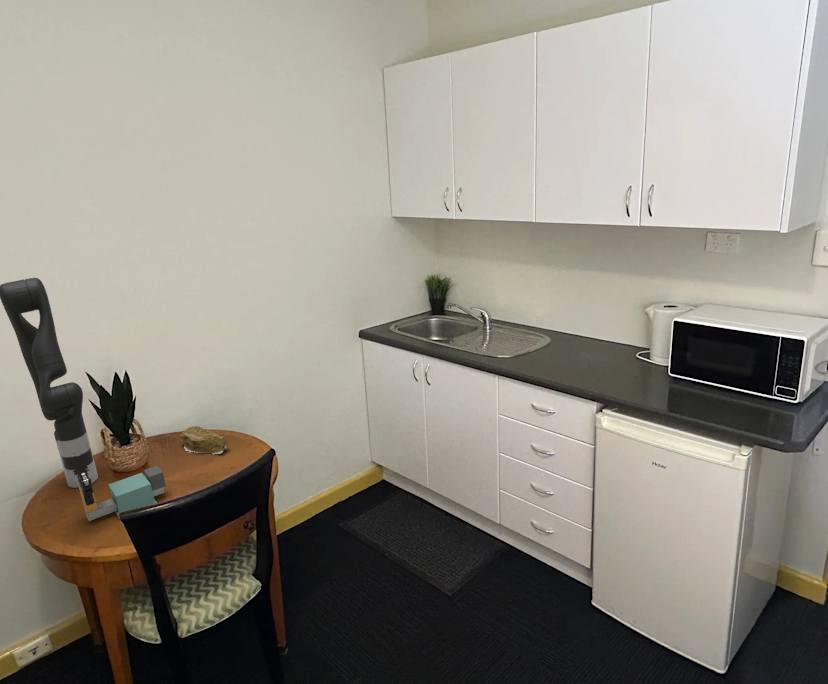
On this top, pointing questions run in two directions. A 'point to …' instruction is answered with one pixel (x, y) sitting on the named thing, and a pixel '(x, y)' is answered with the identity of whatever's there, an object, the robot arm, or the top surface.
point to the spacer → (155, 477)
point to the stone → (202, 440)
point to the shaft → (105, 505)
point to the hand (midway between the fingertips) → (89, 501)
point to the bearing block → (132, 493)
